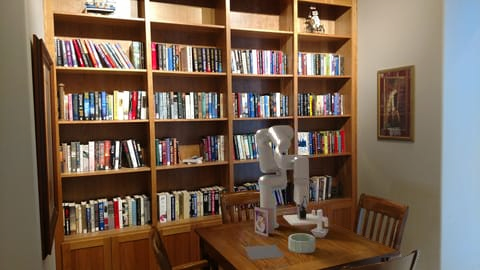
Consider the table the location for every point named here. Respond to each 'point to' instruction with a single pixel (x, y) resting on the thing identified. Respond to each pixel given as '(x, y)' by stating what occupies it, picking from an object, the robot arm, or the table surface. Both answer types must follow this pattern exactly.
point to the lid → (301, 219)
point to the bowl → (301, 243)
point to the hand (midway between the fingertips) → (301, 216)
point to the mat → (263, 252)
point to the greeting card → (264, 221)
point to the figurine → (320, 225)
